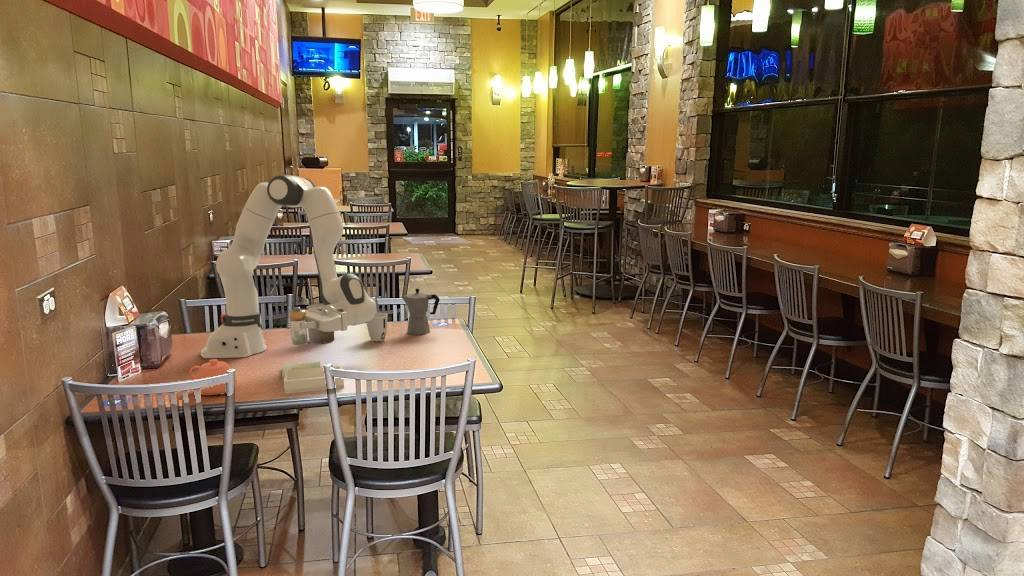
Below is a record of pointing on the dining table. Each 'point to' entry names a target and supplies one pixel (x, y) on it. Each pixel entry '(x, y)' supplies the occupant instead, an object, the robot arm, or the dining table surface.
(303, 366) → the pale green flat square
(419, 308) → the coffeepot
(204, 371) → the sugar bowl
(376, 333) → the cup
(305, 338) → the battery cell
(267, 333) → the dining table surface
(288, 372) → the trough
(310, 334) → the pillar candle
